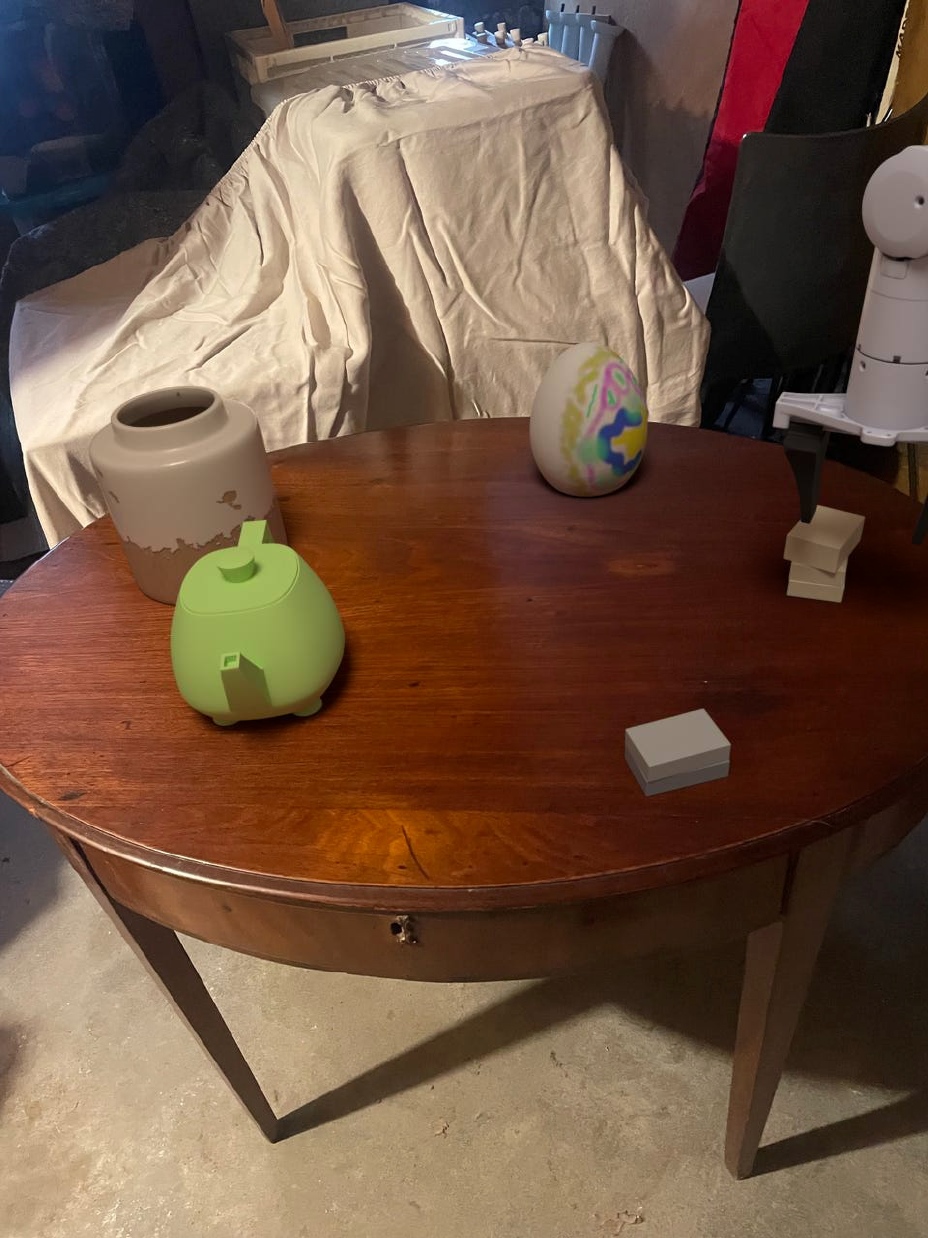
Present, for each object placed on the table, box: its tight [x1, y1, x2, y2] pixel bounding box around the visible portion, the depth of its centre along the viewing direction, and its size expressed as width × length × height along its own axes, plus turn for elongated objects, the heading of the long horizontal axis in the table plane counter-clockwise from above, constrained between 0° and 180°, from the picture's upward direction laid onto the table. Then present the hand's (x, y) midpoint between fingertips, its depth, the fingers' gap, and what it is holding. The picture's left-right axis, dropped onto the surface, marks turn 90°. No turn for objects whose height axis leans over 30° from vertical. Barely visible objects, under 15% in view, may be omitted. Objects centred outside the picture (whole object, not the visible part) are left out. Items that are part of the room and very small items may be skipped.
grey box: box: [624, 708, 732, 798], centre depth 60 cm, size 6×4×3 cm, turn 104°
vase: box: [88, 385, 289, 606], centre depth 83 cm, size 15×15×17 cm
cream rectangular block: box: [783, 504, 866, 573], centre depth 75 cm, size 6×4×2 cm
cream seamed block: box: [786, 556, 849, 604], centre depth 76 cm, size 6×4×3 cm
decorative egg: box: [529, 341, 649, 498], centre depth 91 cm, size 12×12×15 cm
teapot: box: [170, 520, 346, 727], centre depth 68 cm, size 20×13×13 cm
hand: (861, 527), depth 65 cm, fingers open, 7 cm apart
